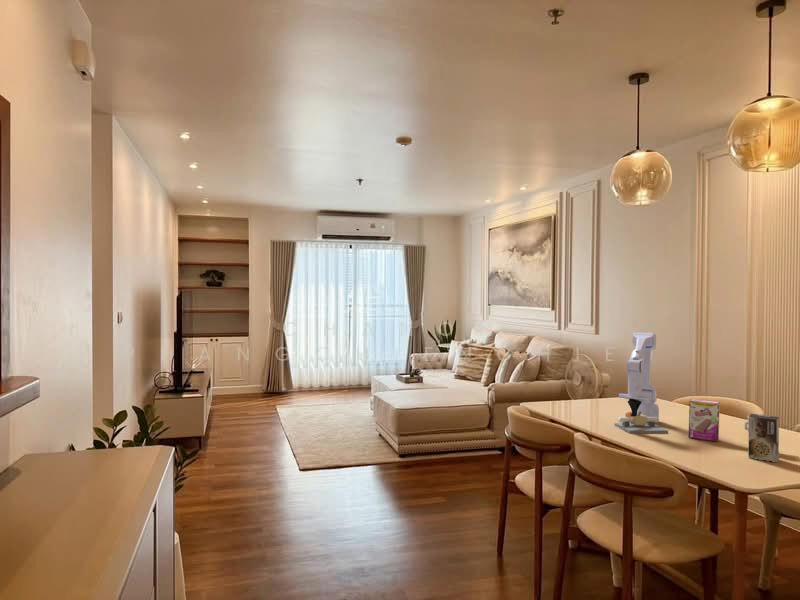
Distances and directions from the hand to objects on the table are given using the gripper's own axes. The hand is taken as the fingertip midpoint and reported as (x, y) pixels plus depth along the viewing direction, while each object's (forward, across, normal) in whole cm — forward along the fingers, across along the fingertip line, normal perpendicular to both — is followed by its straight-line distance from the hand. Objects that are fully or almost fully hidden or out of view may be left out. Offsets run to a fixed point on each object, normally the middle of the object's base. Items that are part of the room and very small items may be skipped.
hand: (634, 416), depth 238 cm
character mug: (+7, +44, +15) cm, 47 cm away
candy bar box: (+7, +24, +14) cm, 28 cm away
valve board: (+7, -1, +7) cm, 10 cm away
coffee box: (+7, +50, +3) cm, 51 cm away
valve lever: (+1, -2, +3) cm, 3 cm away
